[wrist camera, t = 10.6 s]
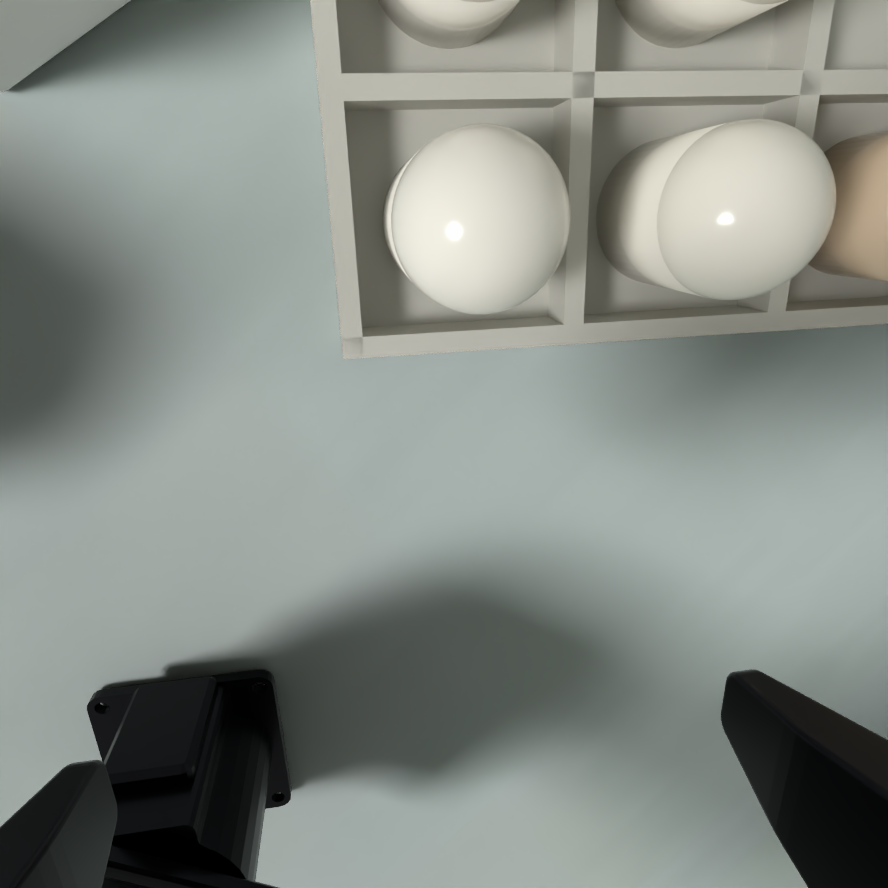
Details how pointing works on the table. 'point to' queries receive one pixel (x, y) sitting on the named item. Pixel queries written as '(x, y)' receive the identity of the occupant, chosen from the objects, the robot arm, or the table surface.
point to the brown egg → (858, 210)
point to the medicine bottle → (43, 31)
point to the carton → (580, 155)
